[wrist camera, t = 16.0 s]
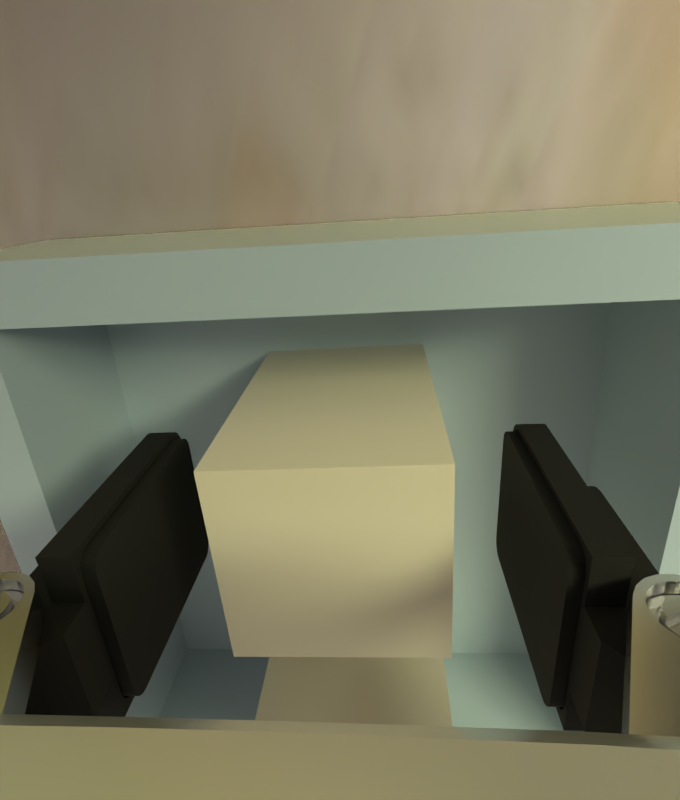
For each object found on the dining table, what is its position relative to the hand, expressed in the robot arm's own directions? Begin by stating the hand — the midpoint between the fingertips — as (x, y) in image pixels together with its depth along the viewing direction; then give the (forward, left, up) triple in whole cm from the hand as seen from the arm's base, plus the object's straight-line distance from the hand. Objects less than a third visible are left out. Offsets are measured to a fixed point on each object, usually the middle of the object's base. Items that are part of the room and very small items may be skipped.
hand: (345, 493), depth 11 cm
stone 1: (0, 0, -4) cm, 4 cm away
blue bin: (+3, 0, -4) cm, 5 cm away
